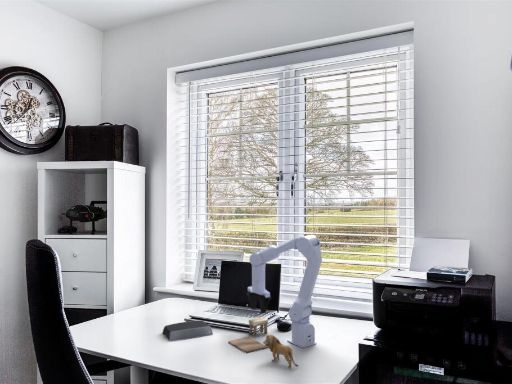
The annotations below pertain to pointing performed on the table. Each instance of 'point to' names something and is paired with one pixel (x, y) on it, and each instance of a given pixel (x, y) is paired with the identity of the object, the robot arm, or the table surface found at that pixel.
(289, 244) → the robot arm
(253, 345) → the walnut mat
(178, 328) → the external hard drive
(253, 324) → the birch stool
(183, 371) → the table surface
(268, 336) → the lion figurine
